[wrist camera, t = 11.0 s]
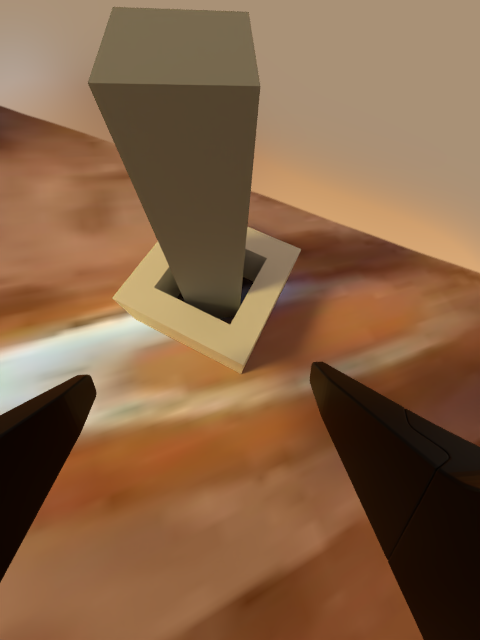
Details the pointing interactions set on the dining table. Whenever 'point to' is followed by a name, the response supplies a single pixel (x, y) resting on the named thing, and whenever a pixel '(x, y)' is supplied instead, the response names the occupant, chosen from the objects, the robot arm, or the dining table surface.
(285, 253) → the collar
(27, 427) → the robot arm
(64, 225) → the dining table surface
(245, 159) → the post
